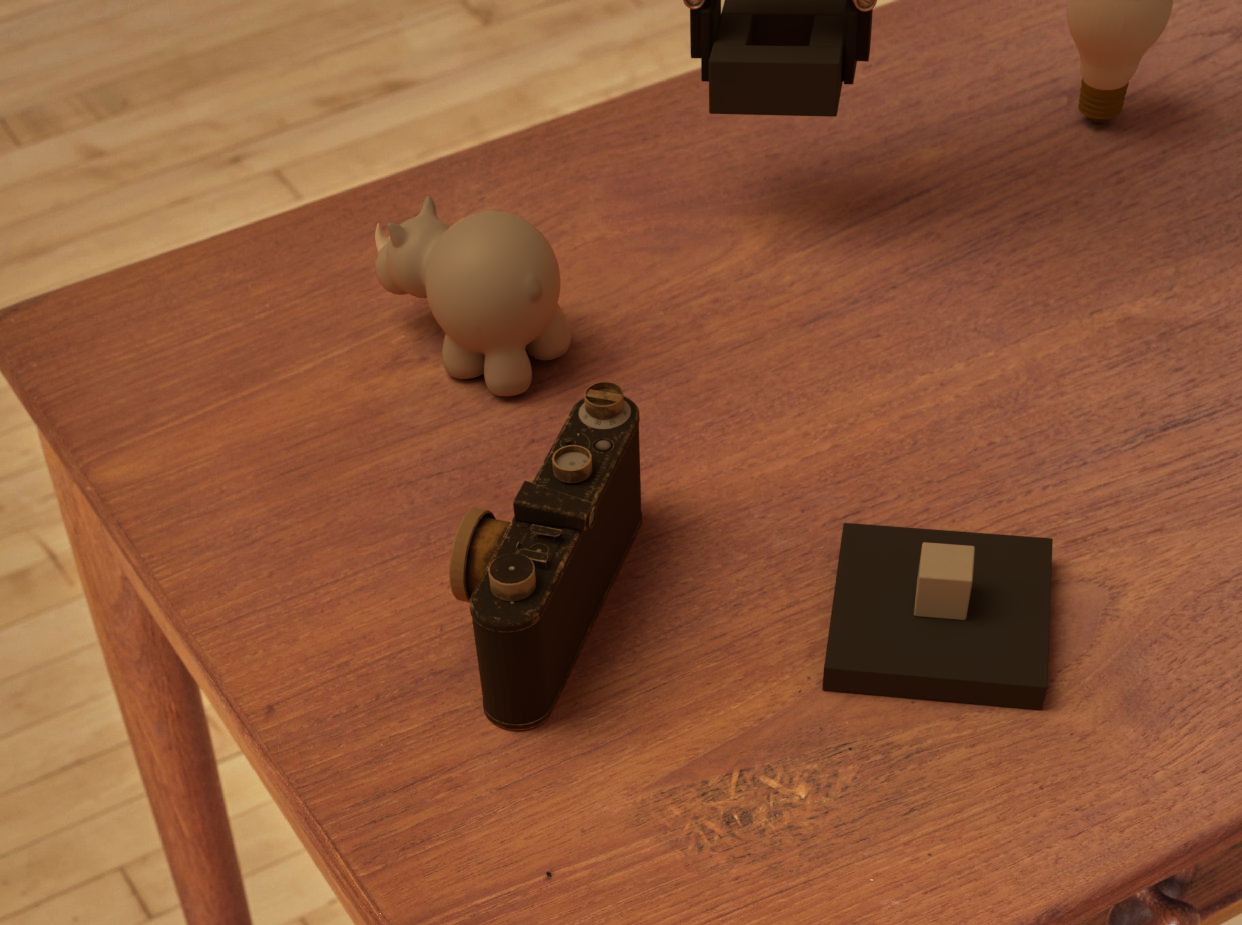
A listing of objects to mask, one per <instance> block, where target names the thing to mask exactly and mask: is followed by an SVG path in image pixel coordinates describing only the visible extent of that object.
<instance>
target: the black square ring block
mask: <svg viewBox="0 0 1242 925" xmlns="http://www.w3.org/2000/svg"><path fill="white" fill-rule="evenodd" d="M722 5H723V6H722V8H721V18H720V22H719V26H718V29H717V33H716V37H715V41H714V44H713V47H712V51H711V55H710V59H709V82H708V114H710V115H739V116H741V115H742V116H744V115H745V116H746V115H747V116H748V115H750V116H786V117H787V116H789V117H790V116H791V117H795V116H796V117H828V118H829V117H830V118H832V117H834V118H835V117H837V116H838V111H839V107H840V106H839V105H840V101H841V94H842V88H843V84H844V82H841V71H842V52H843V44H842V38H843V19H844V10H845V5H846V0H724V1H723V4H722Z"/></svg>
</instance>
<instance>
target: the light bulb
mask: <svg viewBox="0 0 1242 925" xmlns="http://www.w3.org/2000/svg"><path fill="white" fill-rule="evenodd" d="M1173 4H1174V0H1067V6H1066V20H1067V21H1066V22H1067V26H1068V30H1069V33H1070V36H1071V38H1072V40H1073V43H1074V44H1075V46H1076V49H1077V51H1078V54H1079V64H1080V65H1079V67H1080V68H1079V70H1080V75H1081V81H1080V82H1081V83H1080V89H1079V91H1080V92H1079V99H1078V105H1077V107H1078V111H1079V113H1080V114H1082V115H1083V116H1085V117H1087V119H1088V120H1089V121H1091V122H1092V123H1094V124H1103V123H1106V122H1107V121H1109V120H1111V119H1113V118H1116V117H1118V116H1119V115H1120V114H1121V113H1122V112H1123V108H1124V105H1125V100H1126V95H1127V92H1128V91H1127V90H1128V87H1129V86H1130V81H1131V80H1132V79H1133V77H1134V75H1135V74H1136V72H1137V70H1138V67H1139V65H1140V63H1141V60H1142V59H1143V57H1144V56H1145V54H1146V53H1147V52H1148V51H1149V50H1150V48H1151V47H1153V46H1154V45H1155V43H1156V42H1157V41H1158V40H1159V38H1160V37H1161V35H1162V34H1163V33H1164V31H1165V29H1166V27H1167V25H1168V23H1169V20H1170V18H1171V15H1172V10H1173Z"/></svg>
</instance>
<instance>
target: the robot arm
mask: <svg viewBox="0 0 1242 925" xmlns="http://www.w3.org/2000/svg"><path fill="white" fill-rule="evenodd" d="M682 1H683V4H684V6H685V7H687V8H688V9H689V34H690V36H689V37H690V38H689V39H690V43H689V44H690V58H691V59H700V75H701V76H700V78H701V82H708V83H709V59H710V55H711V51H712V47H713V44H714V41H715V37H716V33H717V29H718V26H719V22H720V18H721V13H722V0H682ZM877 3H878V0H846V5H845V10H844V19H843V38H842V44H843V52H842V71H841V82H843V85H854V84H855V83H854V82H855V76H856V70H857V64H858V62H869V59H870V55H871V54H870V53H871V44H872V42H871V41H872V28H873V14H874V13H873V11H874V8H875V7H876V5H877Z"/></svg>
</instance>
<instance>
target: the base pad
mask: <svg viewBox="0 0 1242 925" xmlns="http://www.w3.org/2000/svg"><path fill="white" fill-rule="evenodd" d="M1053 543H1054V542H1053V538H1052V537H1040V536H1039V537H1038V536H1027V535H1026V536H1025V535H1014V534H1013V535H1012V534H999V533H985V532H974V531H973V532H972V531H960V530H959V531H958V530H947V529H933V528H932V529H930V528H919V527H905V526H894V525H881V524H880V525H879V524H868V523H867V524H865V523H852V522H844V523H843V525H842V531H841V539H840V546H839V554H838V559H837V560H838V561H837V569H836V577H835V584H834V589H833V598H832V604H831V613H830V620H829V627H828V628H829V629H828V635H827V643H826V651H825V658H824V663H823V664H824V665H823V675H822V677H823V678H822V688H821V689H822V690H823V691H826V692H827V691H828V692H840V693H849V694H850V693H851V694H862V695H871V696H872V695H873V696H884V697H894V698H895V697H896V698H904V699H905V698H907V699H917V700H928V701H939V702H950V703H960V704H970V705H971V704H972V705H982V706H983V705H984V706H995V707H1005V708H1006V707H1007V708H1017V709H1029V710H1039V711H1041V710H1043V709H1044V705H1045V701H1046V700H1045V699H1046V696H1047V691H1048V684H1049V683H1048V682H1049V656H1050V655H1049V654H1050V653H1049V652H1050V627H1051V626H1050V624H1051V623H1050V622H1051V595H1052V569H1053V568H1052V567H1053Z"/></svg>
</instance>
